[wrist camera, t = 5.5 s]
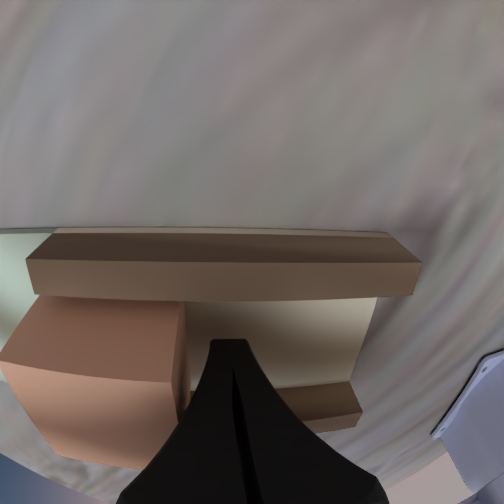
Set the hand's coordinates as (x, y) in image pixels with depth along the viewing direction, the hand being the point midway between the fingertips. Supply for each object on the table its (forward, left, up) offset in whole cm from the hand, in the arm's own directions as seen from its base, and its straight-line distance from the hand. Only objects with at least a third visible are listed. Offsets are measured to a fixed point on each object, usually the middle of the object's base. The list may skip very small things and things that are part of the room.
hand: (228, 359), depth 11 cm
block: (0, +4, -1) cm, 4 cm away
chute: (0, +6, -2) cm, 6 cm away
